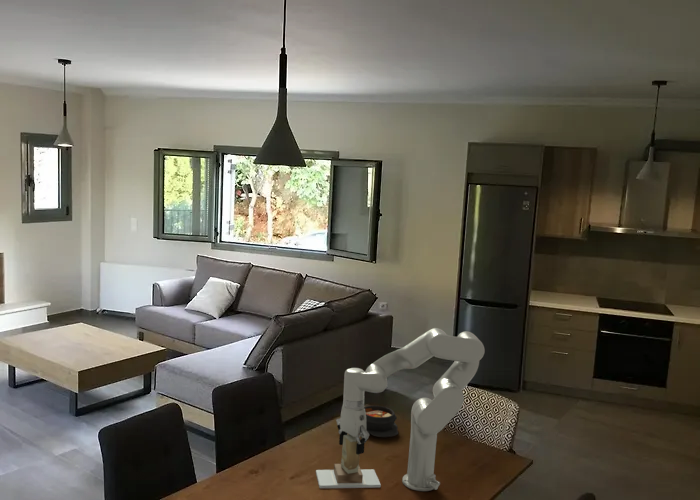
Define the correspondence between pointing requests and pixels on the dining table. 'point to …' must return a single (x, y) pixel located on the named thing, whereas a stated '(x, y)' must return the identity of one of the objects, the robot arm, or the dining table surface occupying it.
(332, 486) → the white board
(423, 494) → the dining table surface
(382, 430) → the casserole
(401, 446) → the dining table surface
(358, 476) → the walnut plinth
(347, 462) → the skincare box
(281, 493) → the dining table surface
